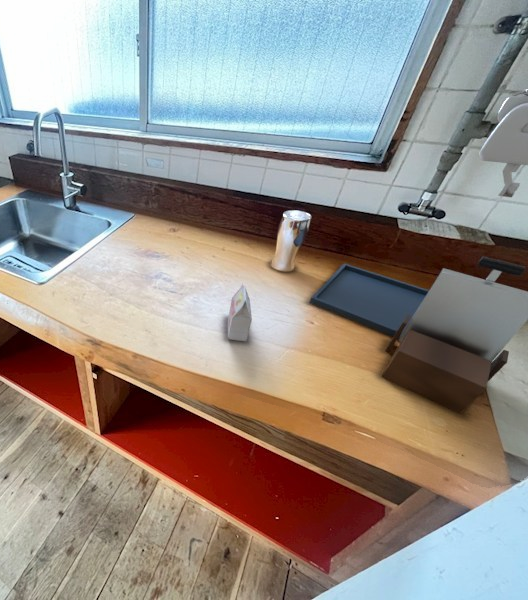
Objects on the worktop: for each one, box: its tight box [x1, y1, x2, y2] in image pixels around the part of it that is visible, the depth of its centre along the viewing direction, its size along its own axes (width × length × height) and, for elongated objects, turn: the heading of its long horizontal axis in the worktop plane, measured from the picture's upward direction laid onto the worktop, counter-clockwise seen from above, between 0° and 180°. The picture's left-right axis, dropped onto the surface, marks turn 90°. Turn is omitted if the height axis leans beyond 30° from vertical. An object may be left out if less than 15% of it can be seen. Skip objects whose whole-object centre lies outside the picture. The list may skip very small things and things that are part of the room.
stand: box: [381, 315, 510, 415], centre depth 56 cm, size 14×11×8 cm
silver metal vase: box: [270, 209, 312, 273], centre depth 85 cm, size 7×7×15 cm
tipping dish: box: [397, 256, 528, 362], centre depth 55 cm, size 12×19×3 cm
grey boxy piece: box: [227, 283, 253, 342], centre depth 67 cm, size 4×7×10 cm, turn 166°
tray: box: [308, 263, 430, 340], centre depth 74 cm, size 28×22×2 cm
